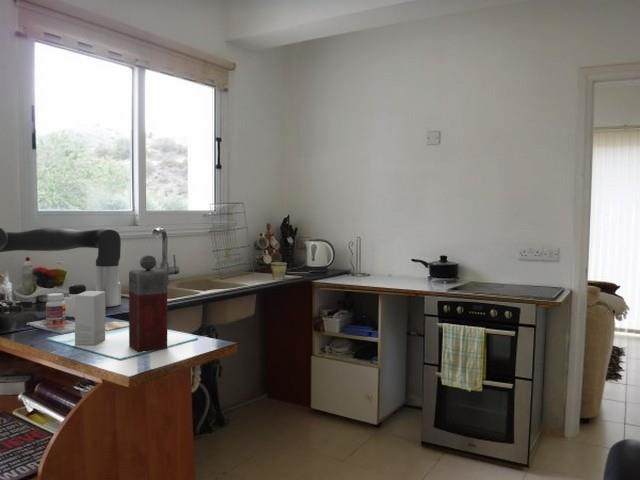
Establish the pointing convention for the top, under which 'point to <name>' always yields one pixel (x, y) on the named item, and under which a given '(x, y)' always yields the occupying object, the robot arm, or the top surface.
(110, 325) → the coaster
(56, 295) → the pill bottle
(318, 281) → the top surface
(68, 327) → the white rectangular panel
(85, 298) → the skincare box
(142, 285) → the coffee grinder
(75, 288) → the medicine bottle
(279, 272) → the ceramic cup
